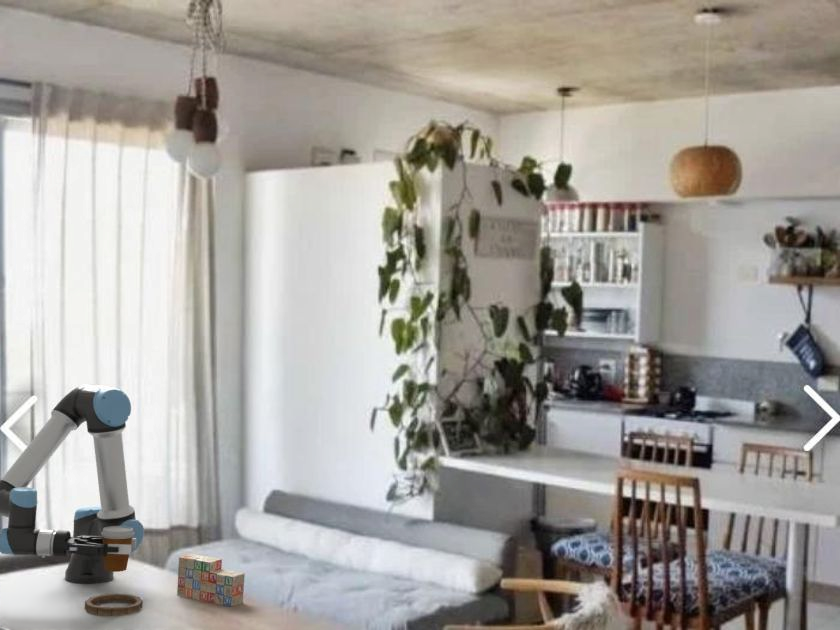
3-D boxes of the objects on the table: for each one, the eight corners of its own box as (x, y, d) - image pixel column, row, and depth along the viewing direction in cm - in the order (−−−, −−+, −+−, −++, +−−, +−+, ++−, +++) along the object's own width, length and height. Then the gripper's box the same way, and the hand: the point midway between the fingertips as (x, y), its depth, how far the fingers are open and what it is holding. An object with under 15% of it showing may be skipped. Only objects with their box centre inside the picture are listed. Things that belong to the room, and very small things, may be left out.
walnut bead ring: (116, 597, 319) (116, 591, 319) (152, 607, 311) (153, 601, 311) (73, 608, 306) (74, 601, 306) (111, 618, 297) (111, 611, 297)
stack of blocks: (243, 603, 322) (245, 563, 322) (230, 607, 316) (233, 567, 317) (189, 591, 332) (191, 552, 332) (176, 595, 326) (178, 556, 326)
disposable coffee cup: (122, 574, 303) (125, 533, 303) (92, 571, 305) (95, 530, 305) (137, 567, 312) (140, 527, 312) (108, 564, 314) (111, 524, 314)
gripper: (62, 548, 317) (138, 551, 319) (44, 564, 296) (126, 567, 298) (64, 523, 317) (140, 526, 319) (46, 537, 296) (127, 541, 299)
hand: (133, 546), depth 309 cm, fingers closed on disposable coffee cup, 8 cm apart
